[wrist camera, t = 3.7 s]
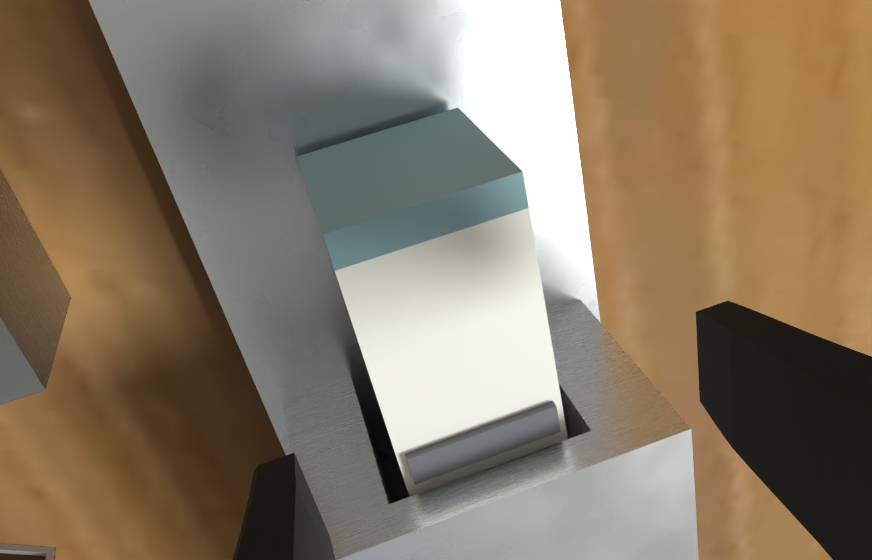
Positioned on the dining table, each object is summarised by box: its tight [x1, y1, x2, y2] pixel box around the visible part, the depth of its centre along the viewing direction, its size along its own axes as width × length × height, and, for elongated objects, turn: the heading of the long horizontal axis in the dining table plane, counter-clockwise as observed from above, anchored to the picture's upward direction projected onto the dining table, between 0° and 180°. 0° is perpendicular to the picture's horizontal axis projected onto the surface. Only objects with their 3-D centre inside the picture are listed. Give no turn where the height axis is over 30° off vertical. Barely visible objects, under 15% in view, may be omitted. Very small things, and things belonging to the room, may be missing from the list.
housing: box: [89, 0, 699, 560], centre depth 19 cm, size 21×10×7 cm, turn 13°
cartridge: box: [297, 108, 568, 497], centre depth 20 cm, size 14×4×5 cm, turn 13°
